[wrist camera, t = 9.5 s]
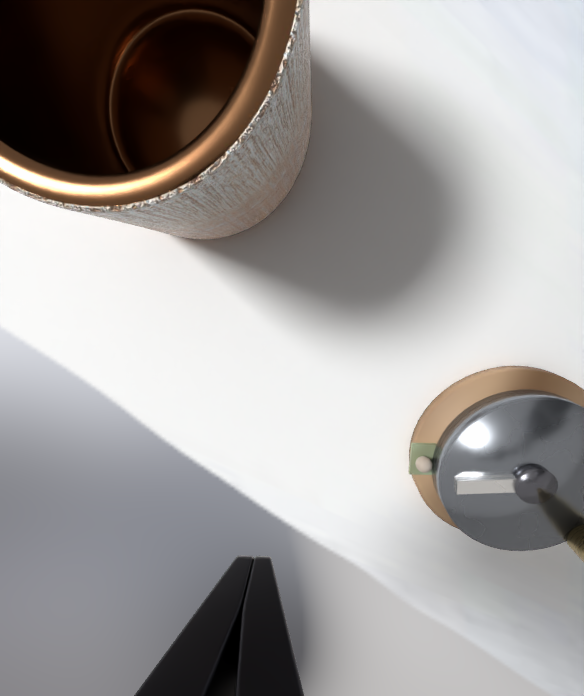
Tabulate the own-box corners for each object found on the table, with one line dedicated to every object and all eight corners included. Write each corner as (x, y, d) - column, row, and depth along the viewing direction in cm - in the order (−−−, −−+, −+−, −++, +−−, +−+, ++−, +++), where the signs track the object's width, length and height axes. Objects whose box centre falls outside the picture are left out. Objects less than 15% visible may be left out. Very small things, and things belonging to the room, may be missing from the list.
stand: (617, 366, 18) (651, 377, 16) (577, 529, 21) (602, 555, 19) (412, 365, 19) (424, 376, 17) (400, 524, 22) (408, 548, 20)
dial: (433, 394, 18) (477, 441, 13) (612, 384, 17) (726, 429, 13) (429, 534, 20) (466, 618, 15) (587, 530, 20) (676, 616, 15)
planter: (75, 9, 16) (-271, -366, 6) (304, -22, 15) (295, -499, 6) (121, 248, 18) (-75, 232, 9) (317, 232, 17) (325, 197, 8)
